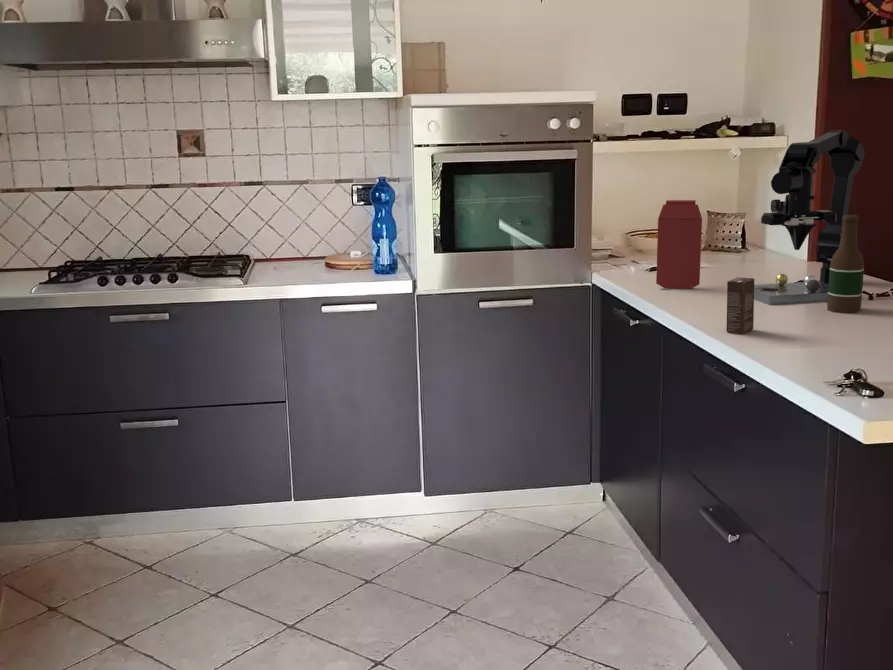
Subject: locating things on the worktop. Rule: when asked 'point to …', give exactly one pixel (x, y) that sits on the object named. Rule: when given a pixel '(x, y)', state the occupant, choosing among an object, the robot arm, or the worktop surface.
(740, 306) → the box
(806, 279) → the steel ball
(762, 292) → the plate
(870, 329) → the worktop surface
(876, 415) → the worktop surface
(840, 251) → the beer bottle
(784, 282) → the brass ball
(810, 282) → the black ball
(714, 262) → the worktop surface
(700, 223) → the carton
